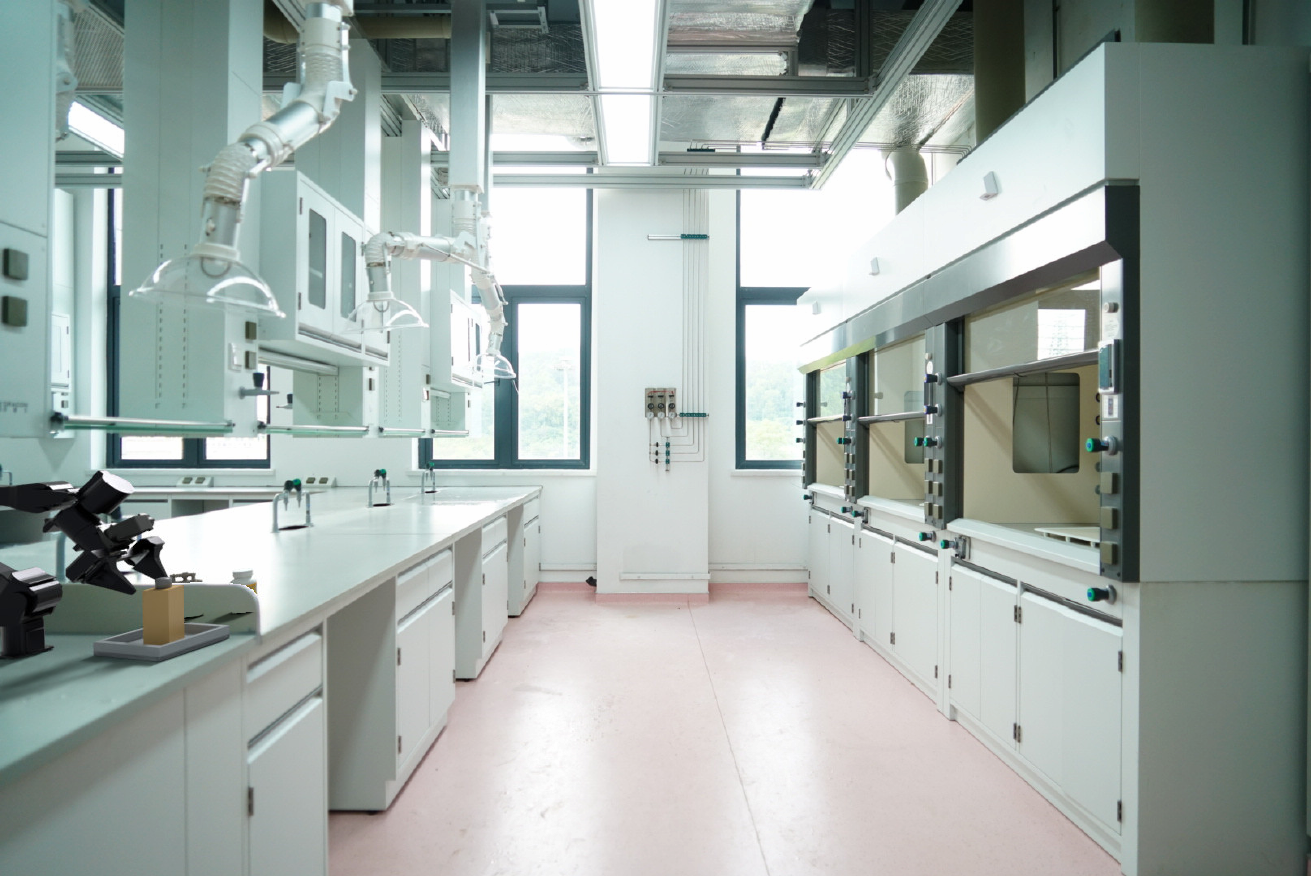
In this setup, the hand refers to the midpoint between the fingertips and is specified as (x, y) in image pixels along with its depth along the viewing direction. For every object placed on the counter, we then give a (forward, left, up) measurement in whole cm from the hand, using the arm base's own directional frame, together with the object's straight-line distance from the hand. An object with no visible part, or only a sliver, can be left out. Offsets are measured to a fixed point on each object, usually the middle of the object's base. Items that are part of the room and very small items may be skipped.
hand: (151, 587), depth 124 cm
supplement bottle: (-5, +25, -12) cm, 28 cm away
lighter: (-14, +18, -12) cm, 25 cm away
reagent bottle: (+2, +1, -11) cm, 11 cm away
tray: (+2, +1, -11) cm, 12 cm away
